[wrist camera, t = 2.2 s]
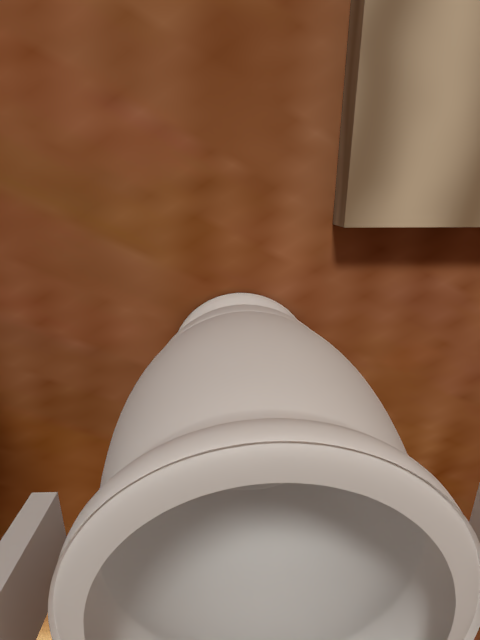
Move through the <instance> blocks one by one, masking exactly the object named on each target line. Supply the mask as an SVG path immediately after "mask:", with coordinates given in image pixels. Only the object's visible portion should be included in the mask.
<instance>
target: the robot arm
mask: <svg viewBox="0 0 480 640" xmlns="http://www.w3.org/2000/svg"><path fill="white" fill-rule="evenodd" d="M469 523H470V525H471V526H472V528H473V530H474V532H475V533H476V535H477V538H478V540H479V542H480V483H479V487H478V491H477V495H476V498H475V502H474V506H473V510H472V514H471V517H470V521H469ZM66 538H67V537H66V532H65V527H64V522H63V517H62V512H61V507H60V502H59V497H58V492H38V493H31V495H30V496H29V498H28V499H27V501H26V502H25V504H24V505H23V507H22V509H21V510H20V512H19V513H18V515H17V516H16V518H15V519H14V521H13V522H12V524H11V525H10V527H9V528H8V530H7V531H6V533H5V534H4V536H3V538H2V539H1V541H0V640H36V638H37V636H38V634H39V631H40V629H41V627H42V624H43V622H44V620H45V618H46V615H47V613H48V597H49V590H50V585H51V581H52V577H53V574H54V571H55V568H56V565H57V563H58V559H59V556H60V552H61V550H62V547H63V544H64V542H65V540H66Z"/></svg>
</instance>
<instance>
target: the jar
mask: <svg viewBox="0 0 480 640" xmlns="http://www.w3.org/2000/svg"><path fill="white" fill-rule="evenodd" d="M48 620H49V627H50V632H51V636H52V640H474V638H475V636H476V634H477V631H478V629H479V627H480V542H479V540H478V538H477V535H476V533H475V532H474V530H473V528H472V526H471V525H470V523H469V522H468V520H467V519H466V517H465V516H464V515H463V513H462V512H461V510H460V508H459V507H458V505H457V504H456V502H455V501H454V499H453V498H452V497H451V495H450V494H449V493H448V491H447V490H446V489H445V488H444V487H443V485H442V484H441V483H440V482H439V481H438V480H437V479H436V478H435V477H434V476H433V475H432V474H431V473H430V472H429V471H427V470H426V469H425V468H424V467H423V466H421V465H420V464H419V463H418V462H416V461H415V460H414V459H412V458H411V457H410V456H408V455H407V452H406V450H405V448H404V445H403V443H402V441H401V439H400V437H399V435H398V433H397V431H396V429H395V427H394V425H393V423H392V421H391V419H390V417H389V415H388V414H387V412H386V410H385V408H384V407H383V405H382V403H381V402H380V400H379V399H378V397H377V396H376V394H375V393H374V391H373V390H372V388H371V387H370V386H369V384H368V383H367V381H366V380H365V379H364V378H363V376H362V375H361V374H360V373H359V371H358V370H357V369H356V368H355V367H354V366H353V365H352V364H351V363H350V361H349V360H348V359H347V358H346V357H345V356H344V355H343V354H341V353H340V352H339V351H338V350H337V349H336V348H335V347H334V346H332V345H331V344H330V343H329V342H328V341H326V340H325V339H324V338H322V337H321V336H319V335H318V334H317V333H315V332H314V331H312V330H311V329H309V328H308V327H307V326H306V325H304V324H303V323H301V322H300V321H298V320H297V319H296V318H295V316H294V315H293V314H292V313H291V312H290V311H289V310H288V309H286V308H285V307H284V306H282V305H281V304H279V303H277V302H276V301H274V300H272V299H269V298H267V297H264V296H261V295H256V294H250V293H233V294H227V295H222V296H219V297H216V298H214V299H211V300H209V301H207V302H205V303H204V304H202V305H201V306H199V307H198V308H197V309H195V310H194V311H193V312H192V313H191V314H190V315H189V316H188V317H187V318H186V320H185V321H184V322H183V324H182V325H181V327H180V329H179V331H178V333H177V334H176V335H175V336H174V337H173V338H172V339H171V340H170V341H169V342H168V344H167V345H166V346H165V347H164V348H163V349H162V350H161V352H160V353H159V354H158V355H157V356H156V357H155V358H154V359H153V360H152V362H151V363H150V364H149V365H148V367H147V368H146V370H145V371H144V372H143V374H142V375H141V377H140V378H139V380H138V381H137V383H136V385H135V386H134V388H133V390H132V392H131V393H130V395H129V397H128V399H127V401H126V403H125V405H124V408H123V410H122V412H121V415H120V417H119V420H118V422H117V425H116V428H115V430H114V433H113V436H112V440H111V443H110V446H109V450H108V453H107V457H106V461H105V465H104V470H103V475H102V480H101V485H100V489H99V490H98V491H97V492H96V494H95V495H94V496H93V497H92V498H91V499H90V501H89V502H88V503H87V504H86V505H85V507H84V508H83V510H82V511H81V512H80V514H79V515H78V517H77V519H76V520H75V522H74V524H73V526H72V528H71V529H70V531H69V533H68V535H67V538H66V540H65V542H64V544H63V547H62V550H61V552H60V556H59V559H58V563H57V565H56V568H55V571H54V574H53V577H52V581H51V585H50V590H49V597H48Z"/></svg>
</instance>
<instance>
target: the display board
mask: <svg viewBox="0 0 480 640" xmlns="http://www.w3.org/2000/svg"><path fill="white" fill-rule="evenodd" d="M333 224H334V225H337V226H341V227H344V228H348V227H480V0H351V7H350V19H349V31H348V44H347V56H346V68H345V80H344V92H343V105H342V117H341V129H340V141H339V154H338V166H337V178H336V190H335V203H334V215H333Z"/></svg>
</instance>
